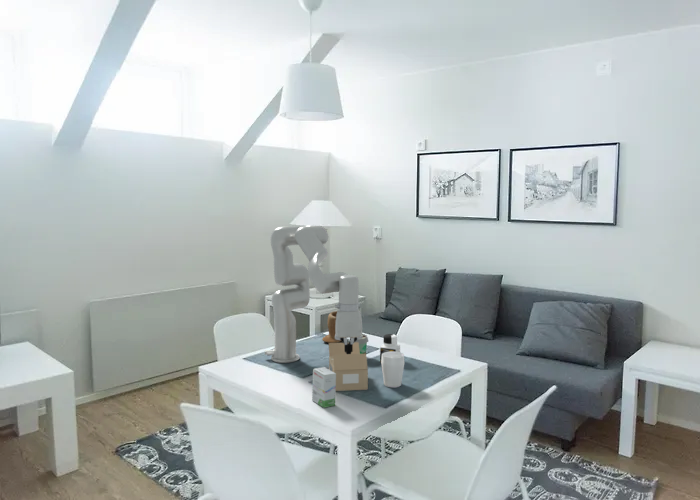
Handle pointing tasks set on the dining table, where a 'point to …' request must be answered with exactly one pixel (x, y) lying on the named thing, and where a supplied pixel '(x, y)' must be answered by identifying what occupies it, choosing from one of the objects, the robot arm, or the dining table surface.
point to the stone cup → (331, 329)
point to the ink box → (324, 387)
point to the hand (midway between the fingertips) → (348, 353)
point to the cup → (392, 368)
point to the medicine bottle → (389, 344)
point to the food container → (362, 344)
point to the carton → (349, 378)
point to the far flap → (342, 348)
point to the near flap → (350, 362)
